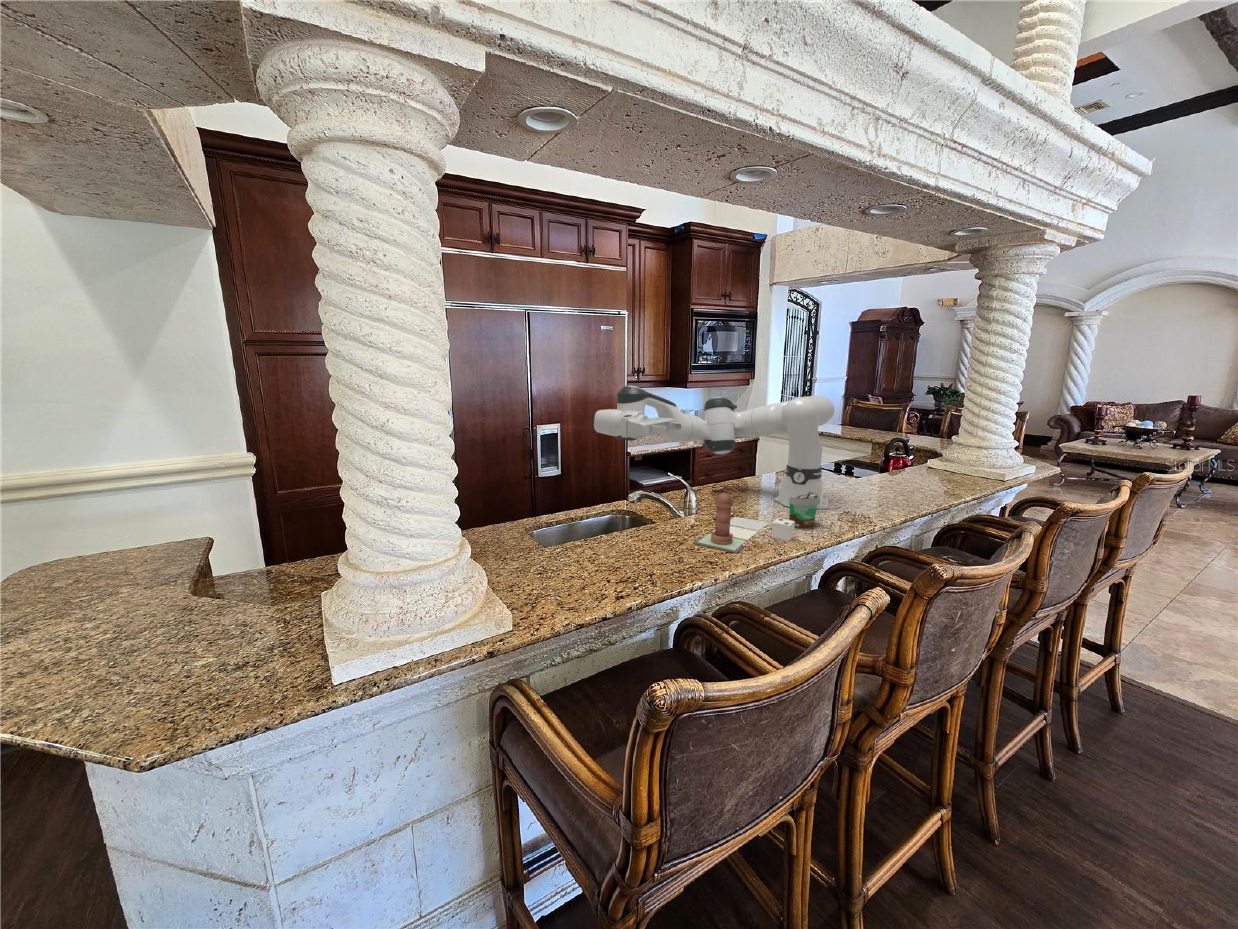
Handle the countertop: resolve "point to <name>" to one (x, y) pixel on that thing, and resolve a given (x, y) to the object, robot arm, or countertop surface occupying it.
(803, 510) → the food container
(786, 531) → the die
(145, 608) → the countertop surface
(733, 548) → the game board
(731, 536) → the pawn
